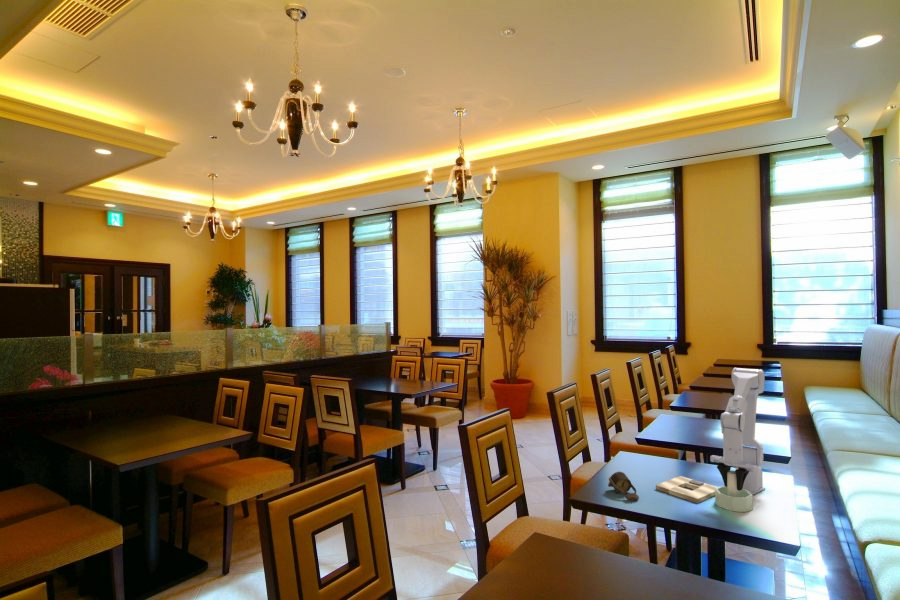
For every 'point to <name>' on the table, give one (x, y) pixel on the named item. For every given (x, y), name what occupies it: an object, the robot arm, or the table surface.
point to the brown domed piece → (623, 485)
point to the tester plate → (677, 489)
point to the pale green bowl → (733, 500)
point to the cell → (732, 484)
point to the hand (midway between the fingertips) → (733, 487)
